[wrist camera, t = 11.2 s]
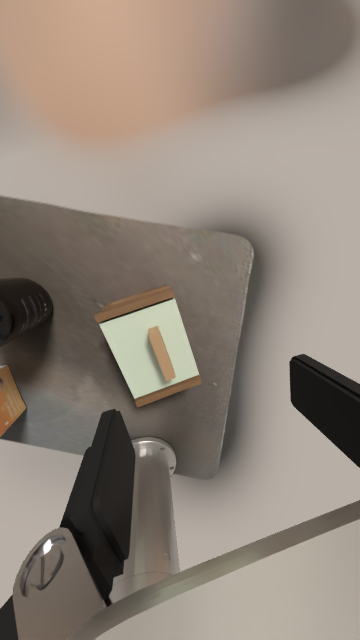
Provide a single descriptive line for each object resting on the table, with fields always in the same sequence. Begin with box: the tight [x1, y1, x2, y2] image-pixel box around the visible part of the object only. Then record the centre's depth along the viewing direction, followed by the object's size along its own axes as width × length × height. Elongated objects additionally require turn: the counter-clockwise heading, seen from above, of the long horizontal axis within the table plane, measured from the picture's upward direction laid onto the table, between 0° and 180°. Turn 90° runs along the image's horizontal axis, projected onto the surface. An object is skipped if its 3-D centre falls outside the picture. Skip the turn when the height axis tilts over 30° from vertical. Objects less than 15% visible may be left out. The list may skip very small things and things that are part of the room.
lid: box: [99, 298, 199, 399], centre depth 22 cm, size 11×9×3 cm
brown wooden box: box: [94, 285, 202, 408], centre depth 26 cm, size 13×9×7 cm
